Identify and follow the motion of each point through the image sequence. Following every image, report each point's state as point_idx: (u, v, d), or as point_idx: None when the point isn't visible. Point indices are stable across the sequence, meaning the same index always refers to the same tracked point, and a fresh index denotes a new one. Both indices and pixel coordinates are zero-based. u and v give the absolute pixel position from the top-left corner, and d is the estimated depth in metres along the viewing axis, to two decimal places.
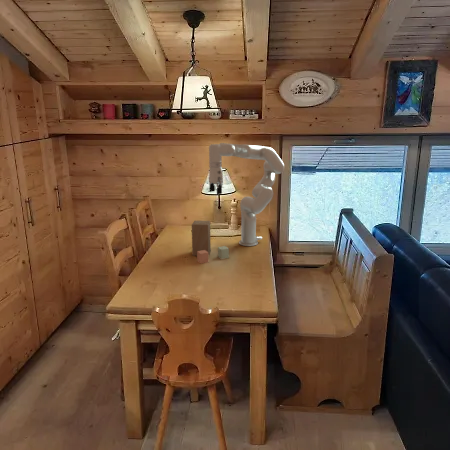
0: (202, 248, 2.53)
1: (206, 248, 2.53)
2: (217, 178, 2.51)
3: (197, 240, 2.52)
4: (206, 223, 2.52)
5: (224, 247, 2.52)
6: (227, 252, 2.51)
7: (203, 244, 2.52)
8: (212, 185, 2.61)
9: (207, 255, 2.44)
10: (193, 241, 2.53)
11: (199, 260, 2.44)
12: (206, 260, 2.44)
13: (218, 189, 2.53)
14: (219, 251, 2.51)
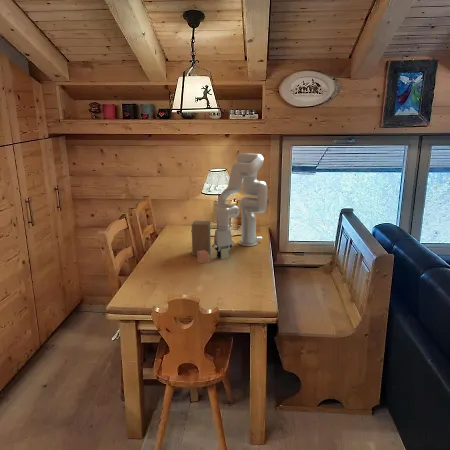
0: (202, 248, 2.53)
1: (206, 248, 2.53)
2: None
3: (197, 240, 2.52)
4: (206, 223, 2.52)
5: (224, 247, 2.52)
6: (227, 252, 2.51)
7: (203, 244, 2.52)
8: None
9: (207, 255, 2.44)
10: (193, 241, 2.53)
11: (199, 260, 2.44)
12: (206, 260, 2.44)
13: (229, 251, 2.53)
14: None
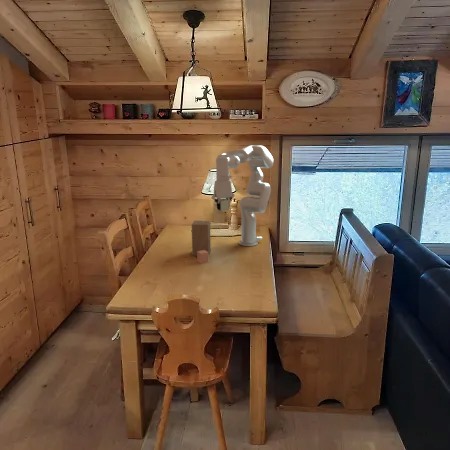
0: (202, 248, 2.53)
1: (206, 248, 2.53)
2: None
3: (197, 240, 2.52)
4: (206, 223, 2.52)
5: (224, 199, 2.44)
6: (227, 204, 2.43)
7: (203, 244, 2.52)
8: None
9: (207, 255, 2.44)
10: (193, 241, 2.53)
11: (199, 260, 2.44)
12: (206, 260, 2.44)
13: (229, 203, 2.45)
14: None
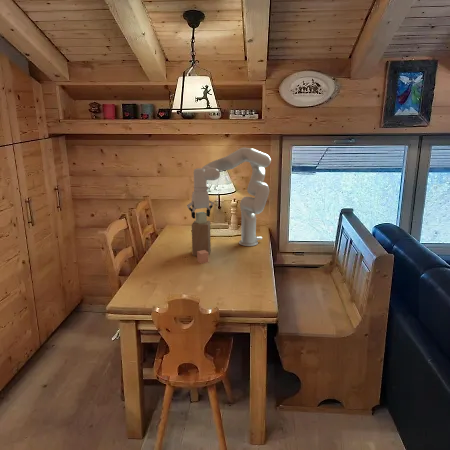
0: (202, 248, 2.53)
1: (206, 248, 2.53)
2: None
3: (197, 240, 2.52)
4: (206, 223, 2.52)
5: (202, 212, 2.53)
6: (204, 217, 2.52)
7: (203, 244, 2.52)
8: None
9: (207, 255, 2.44)
10: (193, 241, 2.53)
11: (199, 260, 2.44)
12: (206, 260, 2.44)
13: (209, 211, 2.54)
14: (197, 216, 2.52)
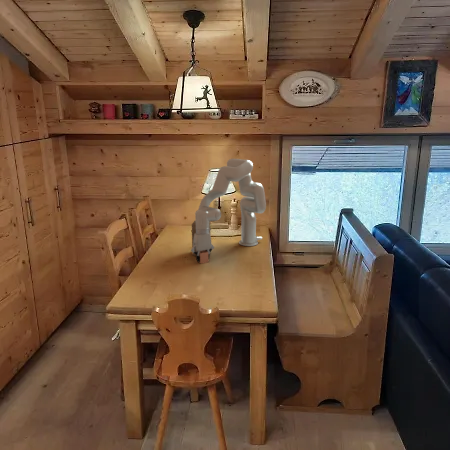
0: None
1: None
2: None
3: None
4: None
5: None
6: None
7: None
8: None
9: (207, 255, 2.44)
10: None
11: None
12: (206, 260, 2.44)
13: (208, 255, 2.46)
14: None
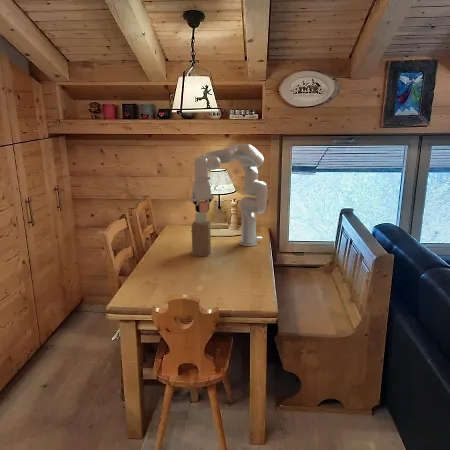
0: (202, 248, 2.53)
1: (206, 248, 2.53)
2: None
3: (197, 240, 2.52)
4: (206, 223, 2.52)
5: None
6: (204, 217, 2.52)
7: (203, 244, 2.52)
8: None
9: (206, 205, 2.36)
10: (193, 241, 2.53)
11: None
12: (205, 210, 2.36)
13: (208, 206, 2.38)
14: (197, 216, 2.52)
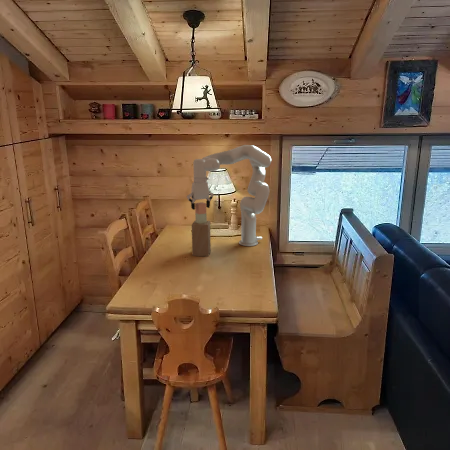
0: (202, 248, 2.53)
1: (206, 248, 2.53)
2: None
3: (197, 240, 2.52)
4: (206, 223, 2.52)
5: None
6: (204, 217, 2.52)
7: (203, 244, 2.52)
8: None
9: (205, 206, 2.50)
10: (193, 241, 2.53)
11: (197, 211, 2.50)
12: (204, 211, 2.51)
13: None
14: (197, 216, 2.52)
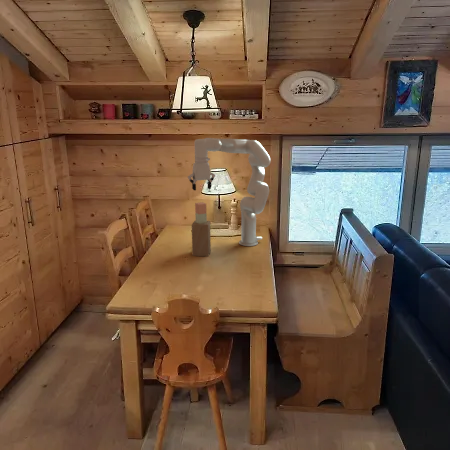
0: (202, 248, 2.53)
1: (206, 248, 2.53)
2: None
3: (197, 240, 2.52)
4: (206, 223, 2.52)
5: None
6: (204, 217, 2.52)
7: (203, 244, 2.52)
8: None
9: (205, 206, 2.50)
10: (193, 241, 2.53)
11: (197, 211, 2.50)
12: (204, 211, 2.51)
13: (210, 184, 2.50)
14: (197, 216, 2.52)
